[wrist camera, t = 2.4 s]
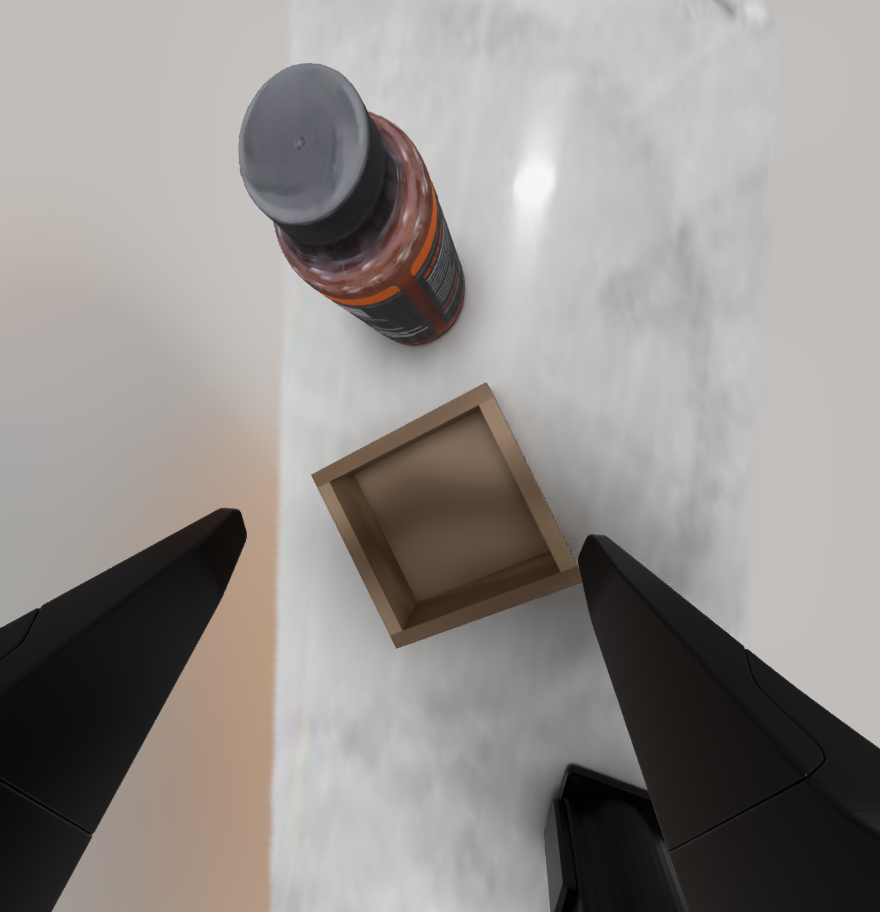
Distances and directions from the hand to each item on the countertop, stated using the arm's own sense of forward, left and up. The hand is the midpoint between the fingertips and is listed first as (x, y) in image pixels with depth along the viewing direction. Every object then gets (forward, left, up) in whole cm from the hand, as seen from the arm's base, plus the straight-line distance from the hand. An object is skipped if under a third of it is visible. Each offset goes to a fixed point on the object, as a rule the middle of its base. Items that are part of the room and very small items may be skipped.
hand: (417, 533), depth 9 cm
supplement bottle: (+5, -10, -12) cm, 16 cm away
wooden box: (+1, +2, -12) cm, 12 cm away
